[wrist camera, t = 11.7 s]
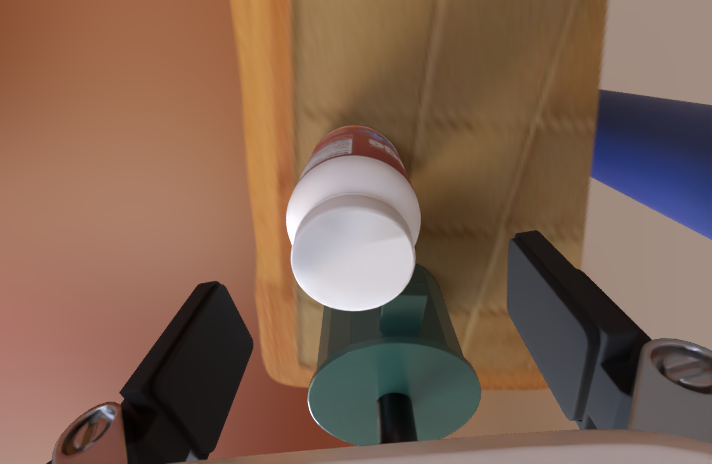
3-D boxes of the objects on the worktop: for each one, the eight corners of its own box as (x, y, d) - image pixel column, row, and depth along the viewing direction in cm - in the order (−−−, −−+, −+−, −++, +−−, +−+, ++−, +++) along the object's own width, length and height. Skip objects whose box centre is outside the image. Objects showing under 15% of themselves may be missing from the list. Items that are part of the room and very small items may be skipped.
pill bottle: (414, 188, 22) (460, 293, 12) (337, 224, 23) (324, 344, 14) (375, 104, 19) (396, 153, 10) (291, 150, 21) (234, 234, 11)
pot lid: (494, 330, 18) (534, 410, 14) (457, 434, 23) (478, 514, 19) (306, 324, 18) (292, 404, 14) (311, 431, 23) (302, 511, 19)
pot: (456, 228, 24) (502, 306, 16) (426, 364, 31) (448, 459, 24) (325, 223, 23) (311, 301, 16) (326, 361, 31) (317, 457, 23)
